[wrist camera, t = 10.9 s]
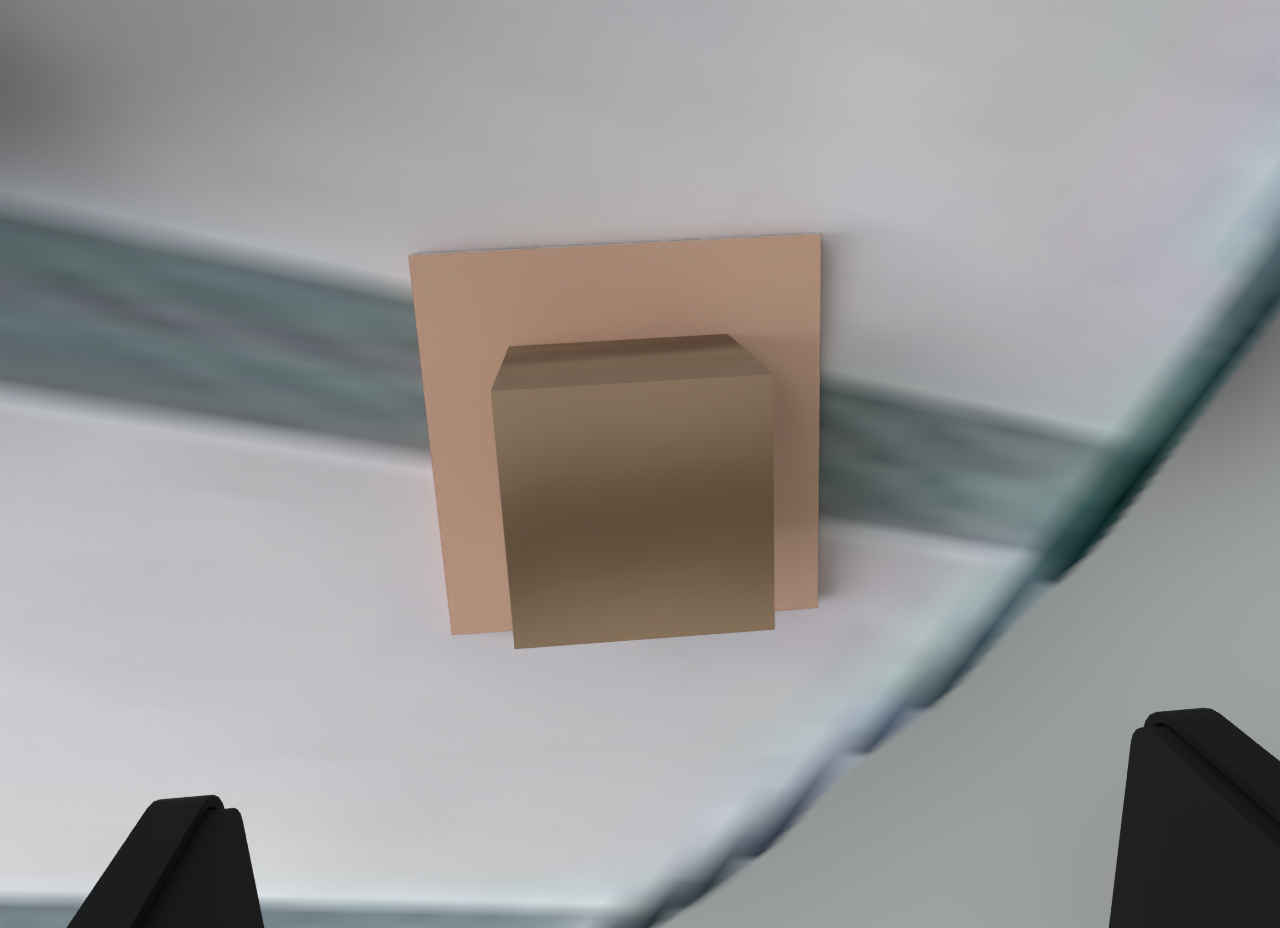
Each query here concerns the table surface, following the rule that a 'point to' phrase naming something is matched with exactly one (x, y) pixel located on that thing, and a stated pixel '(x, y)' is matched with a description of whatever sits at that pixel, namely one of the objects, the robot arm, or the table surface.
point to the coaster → (603, 311)
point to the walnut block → (636, 489)
